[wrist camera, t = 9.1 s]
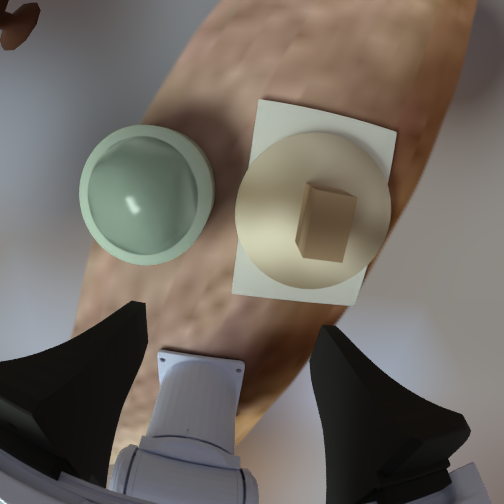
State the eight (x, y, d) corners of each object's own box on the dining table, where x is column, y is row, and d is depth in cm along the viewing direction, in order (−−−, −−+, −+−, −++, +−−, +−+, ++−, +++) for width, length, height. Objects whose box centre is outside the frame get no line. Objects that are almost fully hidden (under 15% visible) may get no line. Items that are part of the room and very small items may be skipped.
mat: (352, 302, 23) (354, 306, 22) (231, 289, 22) (231, 293, 22) (393, 132, 18) (396, 132, 17) (258, 100, 17) (258, 99, 17)
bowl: (208, 256, 21) (202, 274, 18) (99, 241, 21) (81, 255, 18) (223, 131, 18) (219, 129, 15) (103, 126, 17) (83, 125, 15)
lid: (365, 290, 22) (383, 315, 18) (227, 275, 21) (223, 302, 18) (398, 153, 18) (427, 156, 14) (247, 120, 17) (246, 113, 14)
